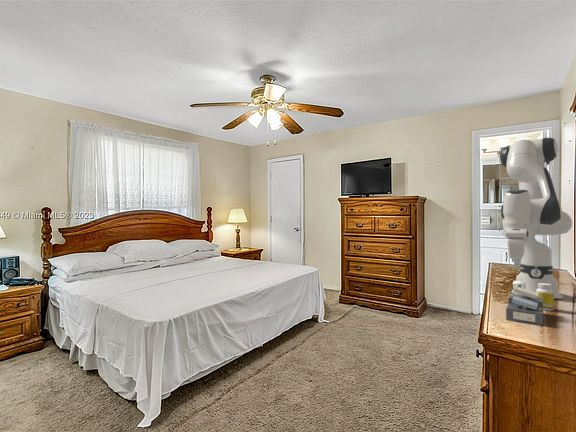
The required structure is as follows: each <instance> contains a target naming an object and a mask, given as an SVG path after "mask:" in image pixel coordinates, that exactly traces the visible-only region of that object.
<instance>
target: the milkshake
mask: <svg viewBox="0 0 576 432" xmlns="http://www.w3.org/2000/svg"><path fill="white" fill-rule="evenodd" d="M527 281H528V280H527ZM526 283H527V282H526ZM526 283H525V282H522V281H516V280H513V282H512V287H513V288H512V290H514V289H515V286H517V287H520V288H523V289H525V288H526ZM513 294H518V293H515V292H514V293H513ZM520 295H521V294H520Z"/></svg>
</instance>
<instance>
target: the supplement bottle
mask: <svg viewBox="0 0 576 432" xmlns="http://www.w3.org/2000/svg"><path fill="white" fill-rule="evenodd" d="M538 287H539V289H537V290H536V293H538V297H543V311H553V310H554V309H555V305H554V303H555V301H554V300H555V299H554V292H553V291H552V290H551V284H546V283H538Z"/></svg>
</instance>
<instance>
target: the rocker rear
mask: <svg viewBox="0 0 576 432" xmlns="http://www.w3.org/2000/svg"><path fill="white" fill-rule="evenodd" d="M514 292H515V293H518V294H521V295H524V296H527V297H530V298H533V299H537V297H538V293H536V292H533V291H530V290H526V289H523V288H520V287H517V286H515V289H514Z"/></svg>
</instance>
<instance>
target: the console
mask: <svg viewBox="0 0 576 432" xmlns="http://www.w3.org/2000/svg"><path fill="white" fill-rule="evenodd" d="M513 296H516V297H519V298H523V299H526V300H529V301H533V302H536V303H538V304H537V309H536V310H534V309H531V308H527V307H524V306H521V305H518V304H515V303H512V299H513ZM507 298H508V304H507V305H506V309H505V312H506V313H505V317H506V320H507V321H512V322H517V323H526V324H529V325H530V324H532V325H537V326H542V327H543V326H544V310H543V297H537V299H533V298H530V297H527V296H524V295H520V294H514V293H512V292H510V293H509V295H508V297H507Z"/></svg>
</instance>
